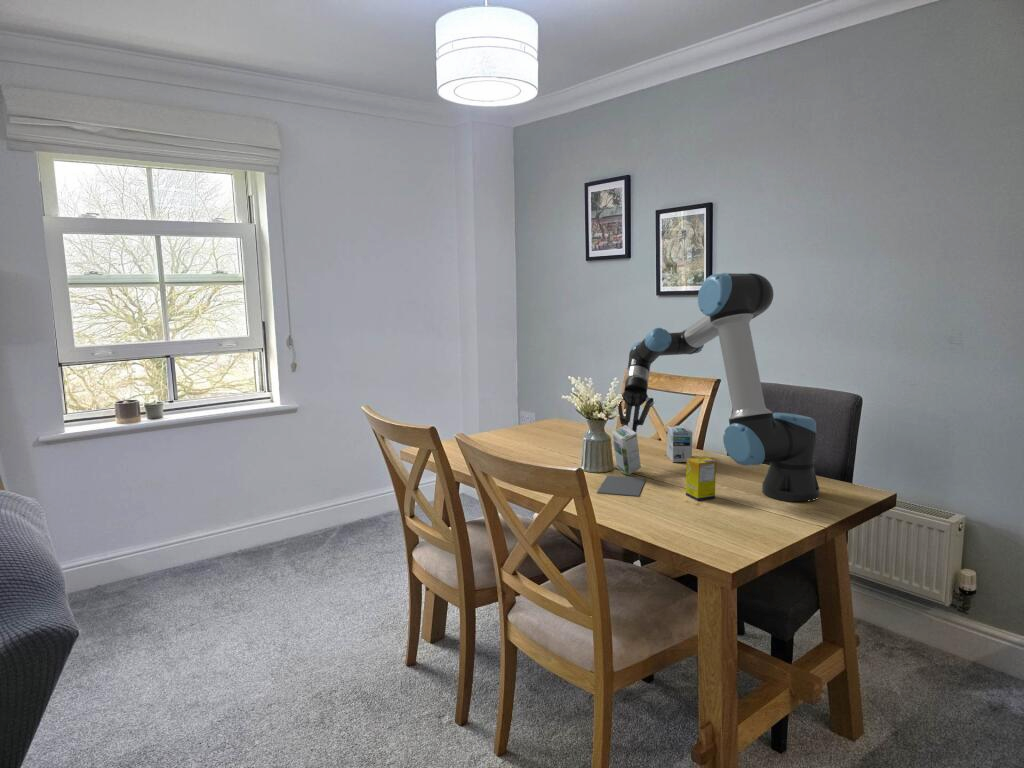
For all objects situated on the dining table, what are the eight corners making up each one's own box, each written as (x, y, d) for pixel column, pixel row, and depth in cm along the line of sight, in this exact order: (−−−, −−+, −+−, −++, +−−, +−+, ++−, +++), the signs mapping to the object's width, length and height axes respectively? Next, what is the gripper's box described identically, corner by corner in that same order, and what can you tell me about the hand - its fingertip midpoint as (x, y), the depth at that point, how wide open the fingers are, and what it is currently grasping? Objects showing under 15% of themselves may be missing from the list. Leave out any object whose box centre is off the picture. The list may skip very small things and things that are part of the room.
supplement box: (702, 492, 196) (703, 455, 195) (715, 498, 191) (716, 460, 189) (684, 495, 194) (685, 457, 193) (697, 501, 189) (698, 463, 187)
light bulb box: (692, 463, 228) (693, 431, 227) (672, 463, 229) (672, 431, 227) (684, 455, 239) (685, 425, 237) (665, 455, 239) (666, 425, 238)
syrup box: (616, 467, 218) (610, 432, 210) (630, 459, 220) (625, 423, 212) (627, 476, 214) (621, 440, 206) (641, 467, 215) (637, 432, 208)
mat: (607, 476, 214) (607, 475, 213) (646, 479, 210) (646, 478, 210) (596, 493, 197) (596, 492, 197) (638, 496, 193) (638, 495, 193)
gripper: (657, 389, 231) (650, 449, 217) (618, 388, 235) (609, 446, 221) (655, 376, 225) (648, 436, 212) (616, 375, 229) (606, 434, 216)
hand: (628, 441), depth 217 cm, fingers closed
